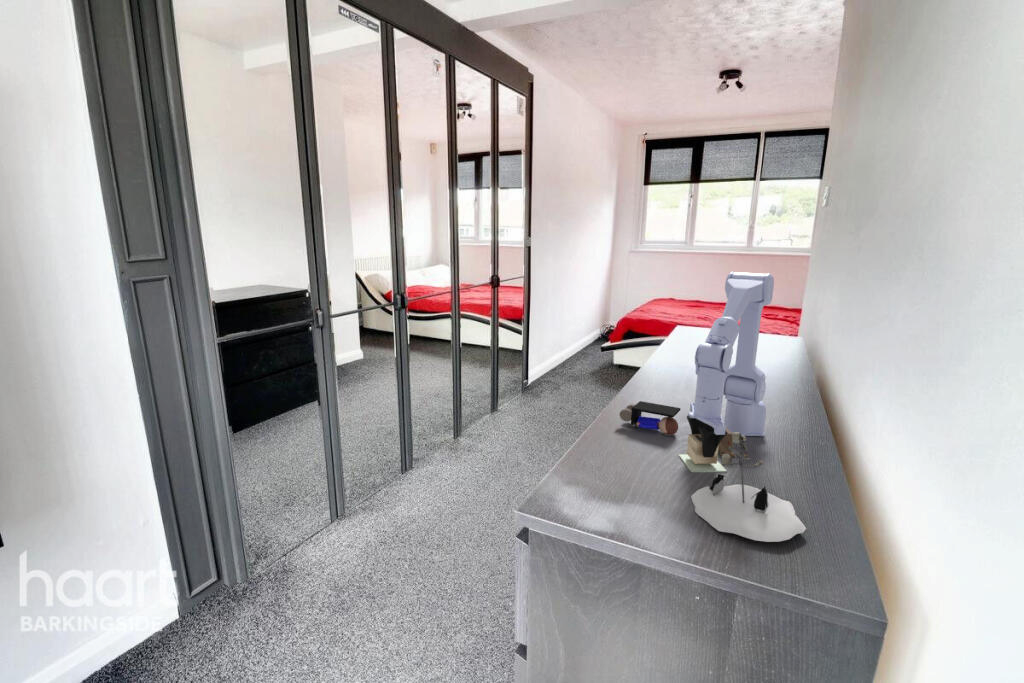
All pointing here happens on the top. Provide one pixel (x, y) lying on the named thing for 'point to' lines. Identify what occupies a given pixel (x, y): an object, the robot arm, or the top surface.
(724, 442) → the brown piece
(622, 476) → the top surface
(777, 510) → the figurine
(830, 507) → the top surface
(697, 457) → the letter cube
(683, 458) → the pad
